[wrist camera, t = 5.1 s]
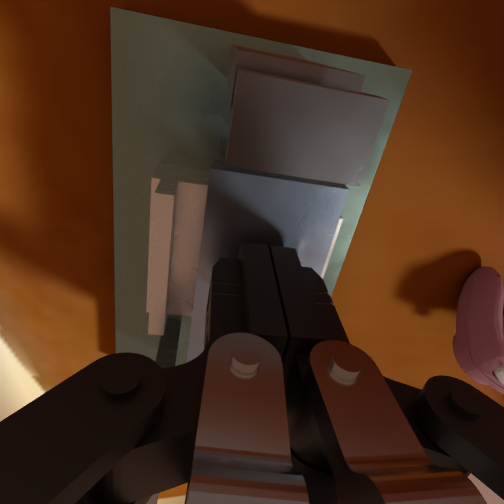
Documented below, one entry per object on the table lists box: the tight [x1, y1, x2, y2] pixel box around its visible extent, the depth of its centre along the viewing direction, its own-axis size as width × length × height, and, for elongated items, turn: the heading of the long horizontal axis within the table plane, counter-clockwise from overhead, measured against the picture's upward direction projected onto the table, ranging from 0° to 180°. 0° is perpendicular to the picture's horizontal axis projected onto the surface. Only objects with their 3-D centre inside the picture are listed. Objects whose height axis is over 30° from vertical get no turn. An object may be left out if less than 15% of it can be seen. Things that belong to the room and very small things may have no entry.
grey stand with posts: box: [110, 7, 412, 504], centre depth 16 cm, size 12×20×10 cm, turn 170°
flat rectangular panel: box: [186, 159, 349, 363], centre depth 13 cm, size 4×14×1 cm, turn 170°
